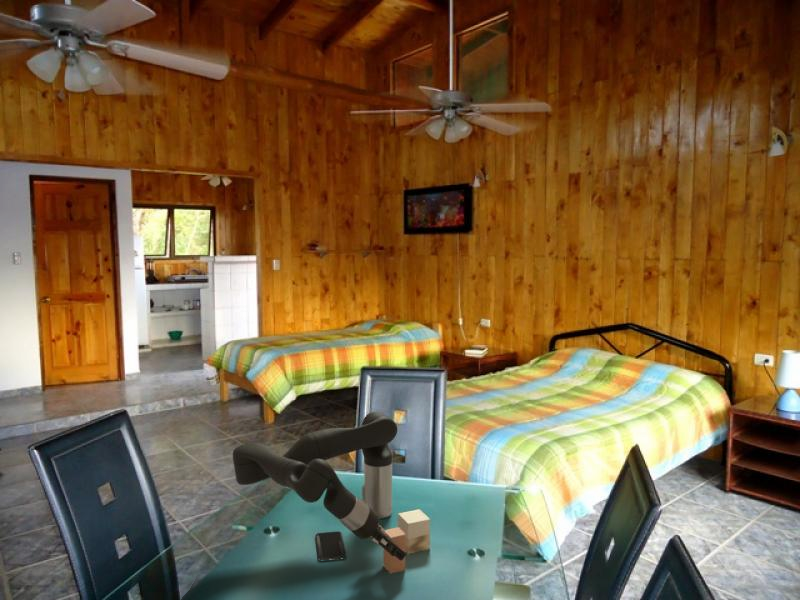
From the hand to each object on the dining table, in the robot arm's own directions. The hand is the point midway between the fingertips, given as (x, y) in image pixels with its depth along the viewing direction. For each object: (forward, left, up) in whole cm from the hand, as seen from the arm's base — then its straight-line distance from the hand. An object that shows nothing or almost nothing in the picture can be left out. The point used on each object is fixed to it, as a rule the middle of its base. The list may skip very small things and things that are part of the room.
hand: (396, 549), depth 156 cm
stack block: (-1, 0, -5) cm, 5 cm away
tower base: (+1, +13, -5) cm, 14 cm away
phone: (-22, +5, -6) cm, 23 cm away
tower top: (+1, +13, -1) cm, 13 cm away
